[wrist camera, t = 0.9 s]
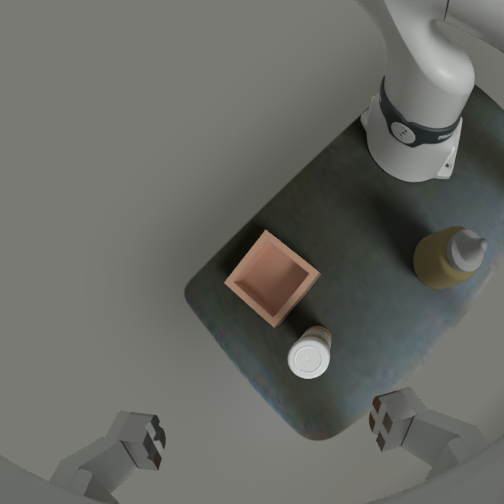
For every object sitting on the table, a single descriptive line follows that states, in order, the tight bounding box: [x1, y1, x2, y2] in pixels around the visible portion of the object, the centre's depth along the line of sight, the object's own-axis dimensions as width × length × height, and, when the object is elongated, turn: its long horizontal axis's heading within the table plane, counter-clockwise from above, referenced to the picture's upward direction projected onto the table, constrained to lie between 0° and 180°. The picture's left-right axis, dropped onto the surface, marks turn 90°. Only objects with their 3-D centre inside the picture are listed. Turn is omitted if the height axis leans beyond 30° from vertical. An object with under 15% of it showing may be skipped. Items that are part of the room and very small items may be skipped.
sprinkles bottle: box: [288, 326, 332, 379], centre depth 34 cm, size 5×5×13 cm
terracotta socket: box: [224, 230, 321, 327], centre depth 42 cm, size 10×10×4 cm
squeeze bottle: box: [413, 227, 488, 290], centre depth 28 cm, size 8×8×18 cm
